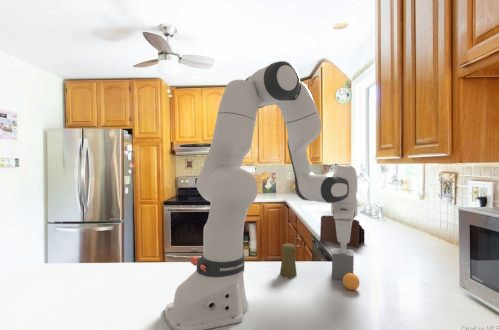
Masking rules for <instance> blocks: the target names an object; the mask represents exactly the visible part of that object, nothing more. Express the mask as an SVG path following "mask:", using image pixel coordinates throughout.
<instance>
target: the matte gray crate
mask: <svg viewBox="0 0 499 330" xmlns="http://www.w3.org/2000/svg"><path fill="white" fill-rule="evenodd" d="M331 252H332V253H331V279H333V280H338V281H339V280H340V281H343V277H344V276H345V275H346V274H347V273H353V274H354V265H355V264H354V261H355V260H354V259H355V258H354V256H355V255H354V254H355V253H354V249H347V251H346V253H341V247H340V248H338V247H337V248H336V247H333V248H332V251H331Z"/></svg>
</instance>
